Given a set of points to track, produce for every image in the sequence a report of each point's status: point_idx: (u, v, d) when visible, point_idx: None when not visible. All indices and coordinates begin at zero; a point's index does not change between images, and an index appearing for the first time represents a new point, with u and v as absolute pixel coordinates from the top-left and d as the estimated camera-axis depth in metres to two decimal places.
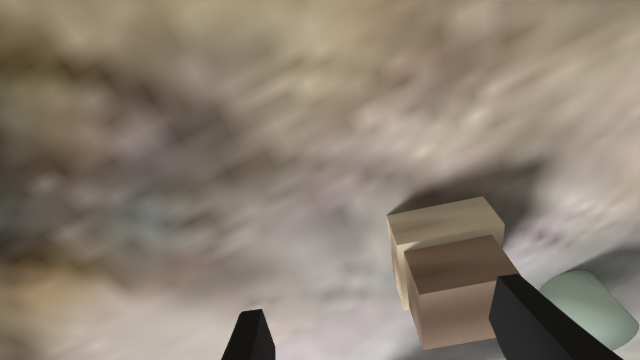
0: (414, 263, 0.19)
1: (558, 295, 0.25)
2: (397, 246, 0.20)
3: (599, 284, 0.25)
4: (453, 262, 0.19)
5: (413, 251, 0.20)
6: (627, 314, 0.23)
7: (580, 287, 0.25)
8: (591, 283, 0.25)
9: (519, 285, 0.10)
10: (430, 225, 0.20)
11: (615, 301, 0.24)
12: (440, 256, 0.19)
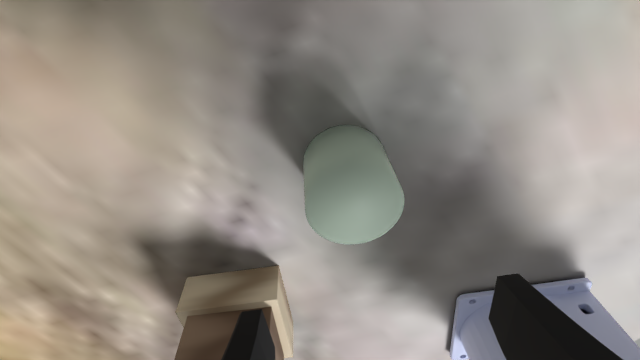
0: None
1: None
2: None
3: (308, 159, 0.17)
4: None
5: None
6: (310, 186, 0.15)
7: None
8: (304, 170, 0.17)
9: (519, 285, 0.10)
10: None
11: (309, 174, 0.16)
12: None
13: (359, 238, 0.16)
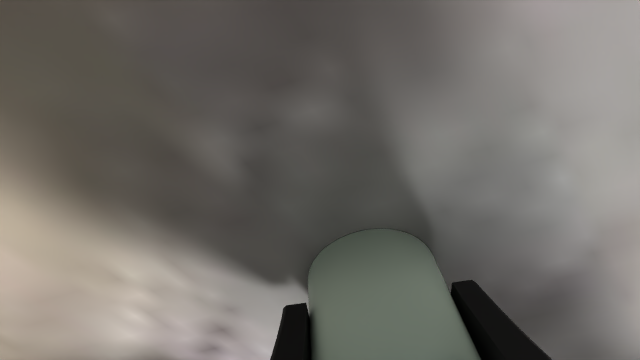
0: None
1: None
2: None
3: (316, 291, 0.10)
4: None
5: None
6: None
7: None
8: (310, 305, 0.11)
9: (471, 292, 0.10)
10: None
11: (319, 335, 0.09)
12: None
13: None
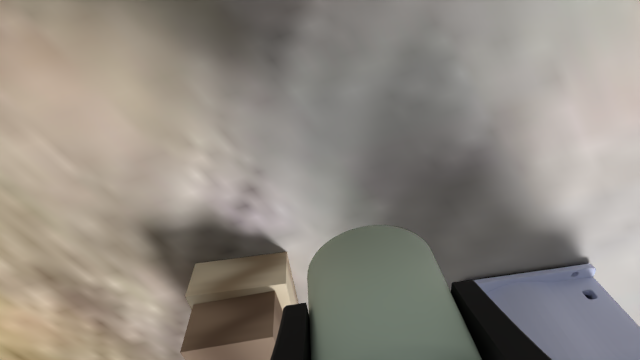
0: None
1: None
2: None
3: (316, 287, 0.10)
4: None
5: None
6: None
7: None
8: (310, 301, 0.11)
9: (471, 292, 0.10)
10: None
11: (319, 330, 0.09)
12: None
13: None
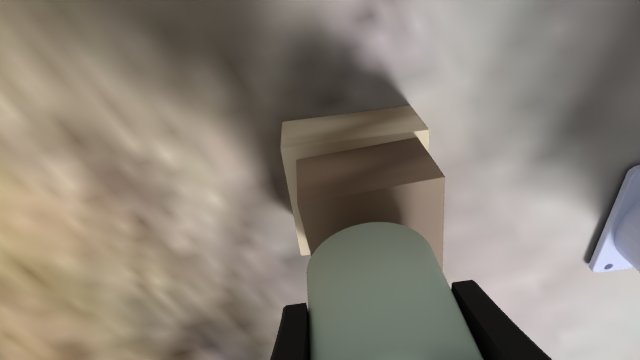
0: None
1: None
2: (303, 254, 0.17)
3: (316, 282, 0.10)
4: None
5: None
6: None
7: None
8: (309, 296, 0.11)
9: (471, 292, 0.10)
10: None
11: (320, 325, 0.09)
12: None
13: None
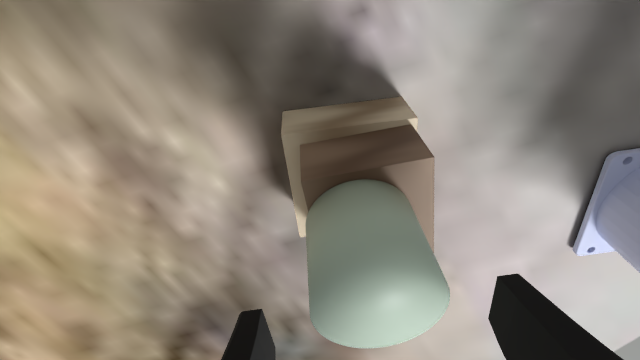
0: None
1: None
2: (302, 235, 0.19)
3: (313, 227, 0.13)
4: None
5: None
6: (318, 281, 0.10)
7: None
8: (308, 240, 0.13)
9: (519, 285, 0.10)
10: None
11: (316, 256, 0.11)
12: None
13: (381, 342, 0.12)
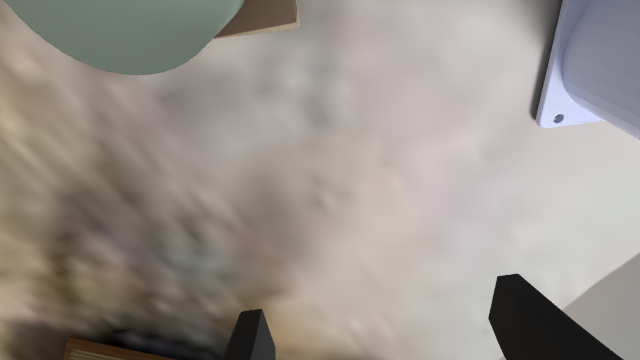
0: None
1: None
2: None
3: None
4: None
5: None
6: None
7: None
8: None
9: (519, 285, 0.10)
10: None
11: None
12: None
13: (147, 58, 0.07)
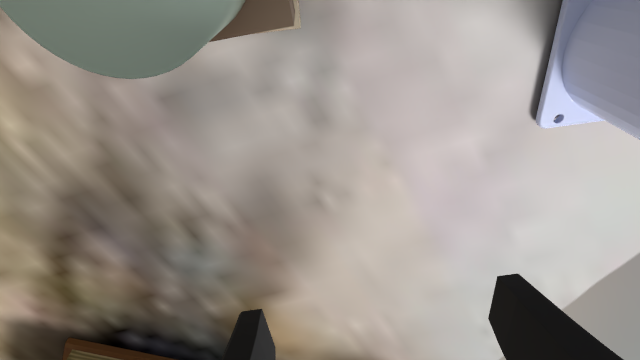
0: None
1: None
2: None
3: None
4: None
5: None
6: None
7: None
8: None
9: (519, 285, 0.10)
10: None
11: None
12: None
13: (142, 62, 0.07)
